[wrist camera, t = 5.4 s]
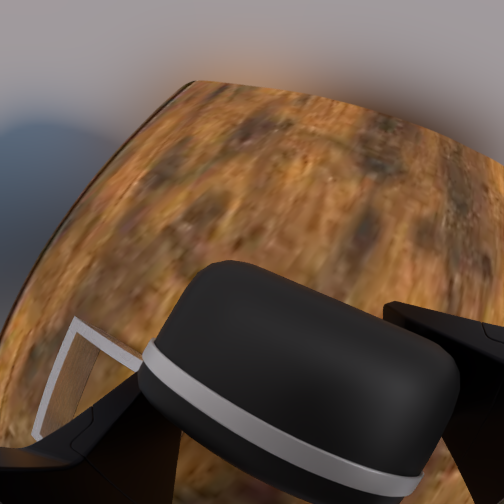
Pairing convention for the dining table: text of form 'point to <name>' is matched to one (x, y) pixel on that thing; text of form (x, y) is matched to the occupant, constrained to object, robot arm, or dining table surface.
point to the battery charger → (300, 386)
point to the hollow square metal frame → (77, 373)
